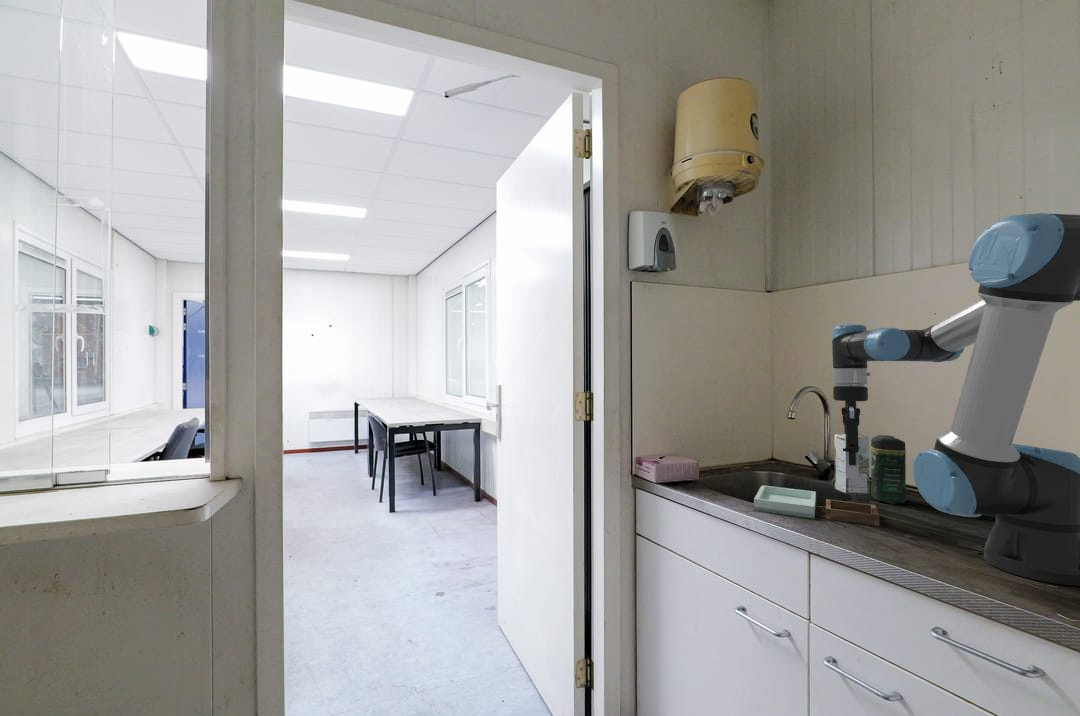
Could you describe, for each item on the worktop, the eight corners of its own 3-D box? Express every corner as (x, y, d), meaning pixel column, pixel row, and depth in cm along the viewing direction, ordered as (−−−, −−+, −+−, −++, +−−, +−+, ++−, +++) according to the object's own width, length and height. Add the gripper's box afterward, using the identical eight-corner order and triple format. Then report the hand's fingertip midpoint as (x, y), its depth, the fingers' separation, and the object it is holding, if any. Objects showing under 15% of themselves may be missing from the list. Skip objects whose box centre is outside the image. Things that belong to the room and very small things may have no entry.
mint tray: (814, 518, 123) (814, 506, 123) (754, 510, 130) (754, 498, 130) (815, 502, 139) (815, 491, 139) (761, 495, 146) (761, 485, 146)
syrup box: (857, 489, 127) (856, 433, 128) (870, 495, 122) (869, 436, 122) (834, 489, 128) (833, 433, 129) (846, 494, 122) (845, 435, 123)
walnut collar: (879, 526, 118) (879, 515, 118) (826, 518, 123) (826, 508, 123) (875, 514, 127) (875, 504, 127) (826, 508, 133) (826, 499, 133)
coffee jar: (909, 506, 136) (908, 438, 136) (875, 502, 139) (874, 436, 139) (900, 497, 144) (900, 434, 145) (868, 494, 148) (868, 432, 148)
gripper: (870, 386, 115) (872, 484, 114) (865, 385, 133) (866, 470, 132) (833, 385, 119) (835, 480, 118) (832, 384, 136) (834, 467, 136)
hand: (851, 475), depth 125 cm, fingers closed on syrup box, 7 cm apart
